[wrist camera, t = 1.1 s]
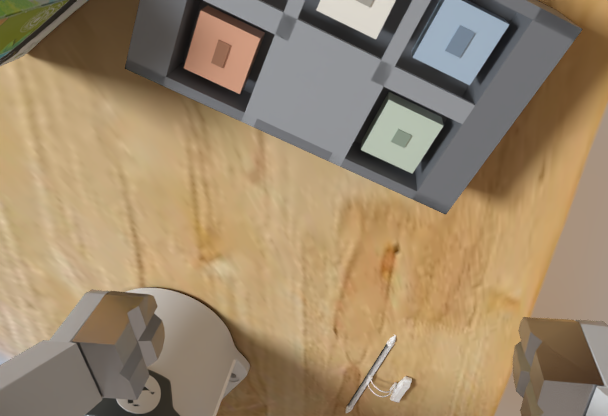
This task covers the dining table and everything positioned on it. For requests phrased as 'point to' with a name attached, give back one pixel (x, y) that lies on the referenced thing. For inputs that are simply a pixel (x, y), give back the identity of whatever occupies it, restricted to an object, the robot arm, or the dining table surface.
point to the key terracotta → (223, 49)
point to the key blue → (459, 38)
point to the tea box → (30, 23)
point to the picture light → (396, 388)
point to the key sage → (401, 133)
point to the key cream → (358, 13)
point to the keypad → (361, 81)
